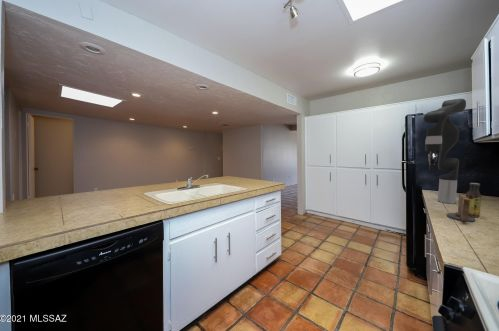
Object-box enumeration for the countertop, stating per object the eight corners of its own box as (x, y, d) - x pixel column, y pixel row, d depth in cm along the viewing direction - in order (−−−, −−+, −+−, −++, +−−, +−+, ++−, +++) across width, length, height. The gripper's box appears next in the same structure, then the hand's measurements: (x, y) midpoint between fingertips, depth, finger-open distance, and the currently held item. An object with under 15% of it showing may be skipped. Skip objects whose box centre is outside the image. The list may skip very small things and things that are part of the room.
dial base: (445, 213, 117) (445, 211, 116) (472, 217, 109) (472, 215, 109) (448, 219, 108) (448, 216, 108) (477, 223, 101) (478, 221, 101)
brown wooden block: (454, 213, 112) (456, 194, 111) (465, 215, 109) (467, 195, 108) (459, 220, 102) (460, 198, 101) (471, 222, 99) (473, 200, 98)
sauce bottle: (475, 218, 109) (478, 184, 107) (461, 214, 115) (463, 182, 113) (482, 216, 110) (485, 184, 109) (467, 213, 116) (470, 182, 115)
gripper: (443, 143, 110) (441, 171, 112) (440, 143, 120) (438, 169, 122) (426, 143, 115) (424, 171, 117) (424, 143, 125) (423, 169, 127)
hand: (431, 170), depth 119 cm, fingers closed
